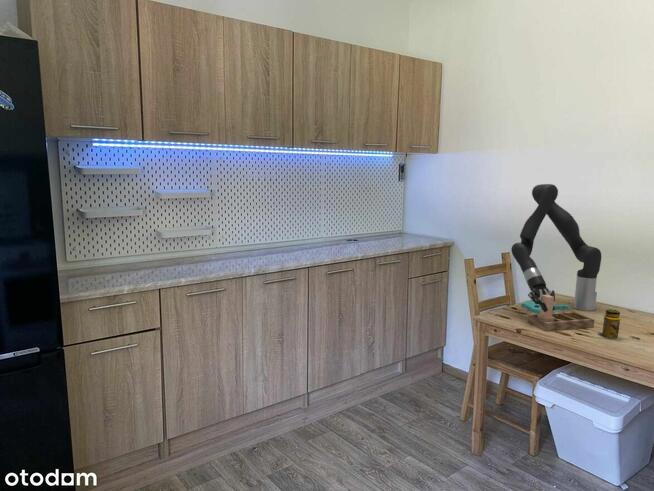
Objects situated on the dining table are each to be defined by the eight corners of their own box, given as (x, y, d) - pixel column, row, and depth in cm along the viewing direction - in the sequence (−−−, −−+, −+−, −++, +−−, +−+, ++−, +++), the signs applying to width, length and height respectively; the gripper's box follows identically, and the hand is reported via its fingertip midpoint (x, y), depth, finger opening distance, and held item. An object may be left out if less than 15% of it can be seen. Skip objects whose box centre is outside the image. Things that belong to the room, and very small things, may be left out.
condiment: (619, 340, 206) (622, 314, 204) (596, 337, 210) (599, 311, 208) (618, 335, 212) (621, 309, 210) (596, 332, 216) (599, 306, 214)
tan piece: (537, 319, 226) (539, 294, 224) (545, 318, 227) (547, 294, 225) (545, 323, 220) (548, 298, 218) (554, 322, 221) (556, 297, 219)
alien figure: (568, 309, 253) (529, 302, 265) (568, 305, 253) (529, 298, 265) (558, 318, 238) (517, 310, 250) (558, 313, 237) (517, 306, 250)
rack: (572, 318, 235) (573, 311, 235) (593, 327, 223) (594, 319, 222) (527, 322, 229) (528, 314, 228) (546, 331, 217) (546, 323, 216)
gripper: (525, 275, 226) (541, 308, 216) (551, 274, 229) (567, 306, 220) (517, 283, 232) (532, 315, 222) (542, 282, 235) (558, 313, 225)
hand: (549, 310), depth 221 cm, fingers closed on tan piece, 3 cm apart
